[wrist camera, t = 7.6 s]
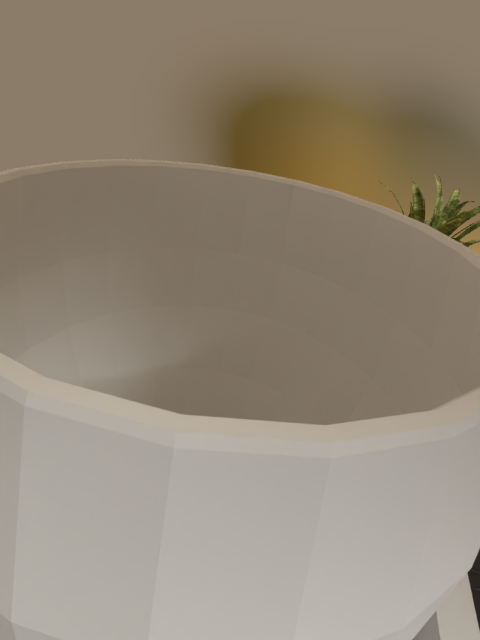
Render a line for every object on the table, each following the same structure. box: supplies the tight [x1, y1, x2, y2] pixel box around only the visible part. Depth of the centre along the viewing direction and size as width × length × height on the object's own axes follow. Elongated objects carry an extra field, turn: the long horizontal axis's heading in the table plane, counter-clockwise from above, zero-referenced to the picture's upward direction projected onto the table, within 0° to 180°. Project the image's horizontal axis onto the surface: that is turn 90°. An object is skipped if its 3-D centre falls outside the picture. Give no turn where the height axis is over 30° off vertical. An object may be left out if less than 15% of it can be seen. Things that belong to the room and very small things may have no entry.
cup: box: [0, 159, 480, 640], centre depth 11 cm, size 11×11×15 cm
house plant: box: [383, 176, 480, 247], centre depth 46 cm, size 14×14×16 cm
